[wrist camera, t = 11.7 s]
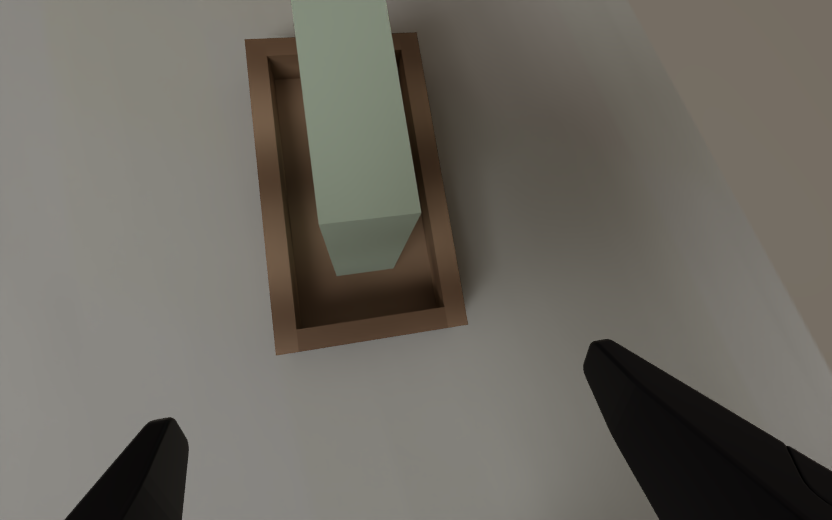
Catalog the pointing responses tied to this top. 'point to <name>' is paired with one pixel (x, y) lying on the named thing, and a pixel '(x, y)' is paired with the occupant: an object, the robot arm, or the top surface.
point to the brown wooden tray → (300, 233)
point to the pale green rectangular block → (356, 132)
